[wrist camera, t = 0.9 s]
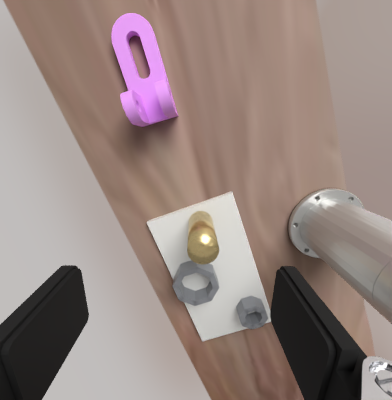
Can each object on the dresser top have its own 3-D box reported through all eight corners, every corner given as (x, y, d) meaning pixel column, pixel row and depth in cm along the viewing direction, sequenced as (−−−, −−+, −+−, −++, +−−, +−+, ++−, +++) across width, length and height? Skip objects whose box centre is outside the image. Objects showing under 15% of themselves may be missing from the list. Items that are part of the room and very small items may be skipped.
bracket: (178, 116, 30) (174, 109, 23) (143, 127, 31) (129, 123, 24) (148, 13, 26) (133, -29, 20) (108, 27, 27) (81, -10, 20)
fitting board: (231, 191, 33) (235, 197, 30) (271, 316, 41) (278, 332, 38) (148, 220, 35) (143, 229, 31) (202, 336, 42) (203, 353, 39)
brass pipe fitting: (213, 211, 33) (220, 236, 25) (211, 233, 34) (218, 264, 26) (188, 210, 33) (187, 235, 25) (188, 232, 34) (186, 264, 26)
